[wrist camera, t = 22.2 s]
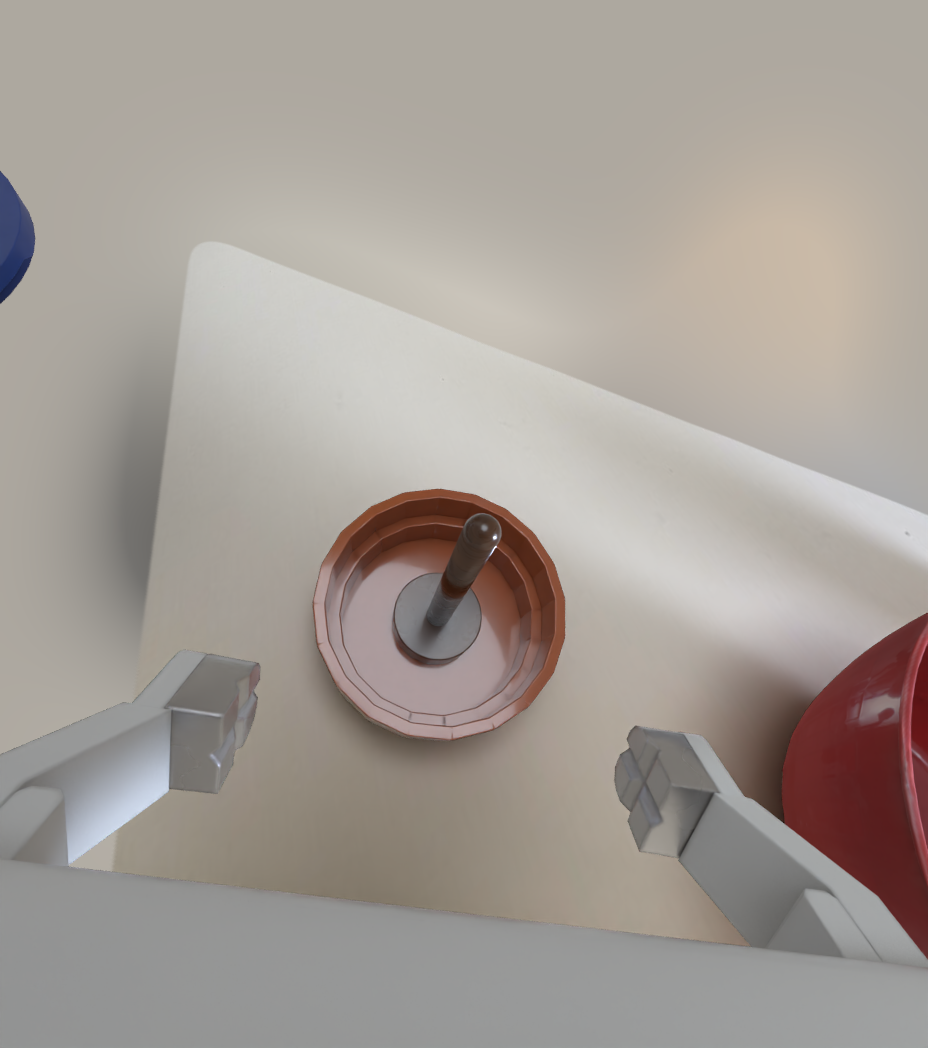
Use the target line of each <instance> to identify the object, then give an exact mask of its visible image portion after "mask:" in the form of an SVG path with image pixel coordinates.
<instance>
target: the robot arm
mask: <svg viewBox="0 0 928 1048" xmlns="http://www.w3.org/2000/svg"><path fill="white" fill-rule="evenodd" d="M259 680H260V665H259V663H256V662H251V661H245V660H240V659H235V658H229V657H224V656H219V655H214V654H207V653H201V652H195V651H190V650H182V651H180V652H178V653H177V654H176V655H175V656H174V657H173V658H172V659H171V660H170V661H169V662H168V664H167V665H166V666H165V667H164V668H163V669H162V670H161V671H160V672H159V674H158V675H157V676H156V677H155V678H154V679H153V680H152V681H151V682H150V683H149V685H148V686H147V687H146V688H145V689H144V690H143V691H142V692H141V693H140V695H139V696H138V697H137V698H136V699H135V700H134V701H133V702H132V703H121V704H118V705H116V706H114V707H112V708H109V709H106V710H104V711H102V712H99V713H97V714H95V715H92V716H90V717H87V718H85V719H83V720H80V721H78V722H76V723H73V724H71V725H69V726H66V727H64V728H62V729H59V730H57V731H54V732H52V733H50V734H47V735H45V736H43V737H40V738H38V739H36V740H33V741H31V742H29V743H26V744H24V745H21V746H19V747H17V748H14V749H12V750H10V751H7V752H5V753H2V754H0V1048H928V959H927V958H926V957H925V956H924V954H923V953H922V952H921V951H920V949H919V948H918V947H917V945H916V944H915V943H914V942H913V940H912V939H911V938H910V937H909V935H908V934H907V933H906V931H905V930H904V929H903V928H902V926H901V925H900V924H899V923H898V921H897V920H896V919H895V917H894V916H893V915H892V914H891V912H890V911H889V910H888V909H887V907H886V906H885V905H884V903H883V902H882V901H881V900H880V898H879V897H878V896H877V895H875V894H874V893H873V892H872V891H870V890H869V889H868V888H866V887H865V886H864V885H863V884H861V883H860V882H859V881H857V880H856V879H855V878H854V877H852V876H851V875H850V874H848V873H847V872H846V871H845V870H843V869H842V868H841V867H839V866H838V865H837V864H836V863H834V862H833V861H832V860H830V859H829V858H828V857H827V856H825V855H824V854H823V853H821V852H820V851H819V850H818V849H816V848H815V847H814V846H812V845H811V844H810V843H808V842H807V841H806V840H805V839H803V838H802V837H801V836H799V835H798V834H797V833H796V832H794V831H793V830H792V829H790V828H789V827H788V826H787V825H785V824H784V823H783V822H781V821H780V820H779V819H778V818H776V817H775V816H774V815H772V814H771V813H770V812H769V811H767V810H766V809H765V808H763V807H762V806H761V805H760V804H758V803H757V802H756V801H754V800H753V799H752V798H747V797H744V795H743V794H742V792H741V791H740V789H739V788H738V786H737V785H736V783H735V782H734V780H733V779H732V777H731V776H730V774H729V773H728V771H727V770H726V768H725V767H724V765H723V764H722V762H721V761H720V759H719V758H718V756H717V755H716V753H715V752H714V750H713V749H712V747H711V746H710V744H709V743H708V741H707V740H706V739H705V738H704V737H702V736H701V735H698V734H690V733H683V732H672V731H666V730H660V729H654V728H647V727H641V726H635V727H634V728H633V729H632V730H631V731H630V733H629V735H628V737H627V742H628V744H629V747H630V748H629V749H628V750H626V751H625V752H623V753H622V754H620V756H619V758H618V761H617V764H616V766H615V786H616V791H617V794H618V797H619V800H620V802H621V803H622V804H623V805H624V806H625V807H626V808H627V809H628V810H629V811H630V812H631V813H630V815H629V818H628V823H629V826H630V829H631V831H632V834H633V836H634V839H635V842H636V844H637V847H638V849H639V852H645V853H651V854H657V855H663V856H669V857H675V858H679V860H678V861H679V862H680V863H681V864H682V865H683V866H684V868H685V869H686V870H687V871H688V872H689V874H690V875H691V876H692V877H693V878H694V879H695V881H696V882H697V883H698V884H699V885H700V887H701V888H702V889H703V890H704V891H705V892H706V894H707V895H708V896H709V897H710V898H711V900H712V901H713V902H714V903H715V904H716V905H717V907H718V908H719V909H720V910H721V911H722V913H723V914H724V915H725V916H726V917H727V918H728V920H729V921H730V922H731V923H732V924H733V926H734V927H735V928H736V929H737V930H738V931H739V933H740V934H741V935H742V936H743V937H744V939H745V940H746V941H747V942H748V943H749V944H750V946H751V947H748V946H739V945H731V944H722V943H714V942H706V941H697V940H689V939H680V938H672V937H663V936H655V935H646V934H638V933H629V932H621V931H612V930H604V929H595V928H587V927H578V926H569V925H561V924H552V923H544V922H535V921H527V920H518V919H510V918H501V917H493V916H484V915H476V914H467V913H459V912H450V911H442V910H433V909H425V908H416V907H408V906H399V905H391V904H382V903H374V902H365V901H357V900H348V899H340V898H331V897H323V896H314V895H306V894H297V893H289V892H280V891H272V890H263V889H255V888H246V887H238V886H229V885H221V884H212V883H203V882H195V881H186V880H178V879H169V878H161V877H152V876H144V875H135V874H127V873H118V872H110V871H101V870H93V869H84V868H75V867H69V864H71V863H72V862H74V861H75V860H76V859H77V858H79V857H80V856H82V855H83V854H85V853H86V852H87V851H88V850H90V849H91V848H93V847H94V846H95V845H96V844H98V843H100V842H101V841H102V840H103V839H105V838H106V837H108V836H109V835H110V834H112V833H113V832H114V831H116V830H117V829H119V828H120V827H121V826H123V825H124V824H125V823H127V822H128V821H129V820H131V819H132V818H134V817H135V816H136V815H138V814H139V813H140V812H142V811H143V810H144V809H146V808H147V807H149V806H150V805H151V804H153V803H154V802H155V801H157V800H158V799H159V798H161V797H162V796H164V795H165V794H166V793H168V792H169V789H176V790H185V791H195V792H204V793H213V794H218V792H219V790H220V788H221V787H222V785H223V783H224V781H225V779H226V777H227V775H228V773H229V771H230V769H231V768H232V766H233V761H234V751H235V750H237V749H238V748H240V747H242V746H243V745H244V743H245V740H246V738H247V736H248V734H249V732H250V729H251V726H252V723H253V721H254V717H255V712H256V708H257V700H258V697H257V696H256V694H255V693H254V689H255V687H256V685H257V683H258V682H259Z"/></svg>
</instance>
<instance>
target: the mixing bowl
mask: <svg viewBox="0 0 928 1048" xmlns="http://www.w3.org/2000/svg"><path fill="white" fill-rule="evenodd" d="M782 771H783V782H782V804H783V812H784V820H785V825H787V826H788V827H789V828H790V829H792V830H793V831H794V832H796V833H797V834H798V835H799V836H801V837H802V838H803V839H805V840H806V841H807V842H808V843H810V844H811V845H812V846H814V847H815V848H816V849H818V850H819V851H820V852H821V853H823V854H824V855H825V856H827V857H828V858H829V859H830V860H832V861H833V862H834V863H836V864H837V865H838V866H839V867H841V868H842V869H843V870H845V871H846V872H847V873H848V874H850V875H851V876H852V877H854V878H855V879H856V880H857V881H859V882H860V883H861V884H863V885H864V886H865V887H866V888H868V889H869V890H870V891H872V892H873V893H874V894H875V895H877V896H878V897H879V898H880V900H881V901H882V902H883V903H884V905H885V906H886V907H887V909H888V910H889V911H890V912H891V914H892V915H893V916H894V917H895V919H896V920H897V921H898V923H899V924H900V925H901V926H902V928H903V929H904V930H905V931H906V933H907V934H908V935H909V937H910V938H911V939H912V940H913V942H914V943H915V944H916V945H917V947H918V948H919V949H920V951H921V952H922V953H923V954H924V956H925V957H926V958H927V959H928V613H926V614H924V615H922V616H920V617H919V618H917V619H915V620H913V621H911V622H910V623H908V624H906V625H905V626H903V627H901V628H900V629H898V630H896V631H895V632H893V633H891V634H890V635H888V636H887V637H885V638H884V639H882V640H881V641H880V642H878V643H877V644H875V645H874V646H872V647H871V648H870V649H868V650H867V651H866V652H864V653H863V654H862V655H860V656H859V657H858V658H857V659H855V660H854V661H853V662H852V663H851V664H850V665H849V666H848V667H846V668H845V669H844V670H843V671H842V672H841V673H840V674H839V675H838V676H837V677H835V678H834V679H833V680H832V681H831V682H830V683H829V684H828V685H827V686H826V687H825V688H824V689H823V690H822V692H821V693H820V694H819V695H818V696H817V697H816V698H815V699H814V701H813V702H812V703H811V704H810V706H809V707H808V708H807V710H806V711H805V713H804V714H803V716H802V718H801V719H800V721H799V723H798V725H797V726H796V728H795V730H794V732H793V734H792V737H791V739H790V742H789V747H788V750H787V754H786V758H785V761H784V766H783V769H782Z"/></svg>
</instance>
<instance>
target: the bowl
mask: <svg viewBox="0 0 928 1048" xmlns="http://www.w3.org/2000/svg"><path fill="white" fill-rule="evenodd" d="M479 513H484V514H489V515H491V516H493V517H494V518H495V519H496V520H497V521H498V522H499V524H500V526H501V539H500V541H499V543H498V545H497V546H496V548H495V549H494V551H493V553H492V554H491V556H490V557H489V559H488V560H487V562H486V563H485V565H484V567H483V568H482V570H481V571H480V573H479V574H478V576H477V577H476V579H475V581H474V582H473V584H472V585H471V587H470V588H471V589H472V590H473V592H474V593H475V595H476V597H477V599H478V601H479V604H480V607H481V613H482V621H481V628H480V631H479V634H478V636H477V638H476V640H475V641H474V643H473V644H472V645H471V646H470V647H469V648H468V649H467V650H466V651H465V652H464V653H463V654H462V655H461V656H460V657H458V658H457V659H455V660H453V661H451V662H448V663H444V664H437V665H435V664H426V663H422V662H419V661H417V660H415V659H413V658H412V657H410V656H409V655H408V654H407V653H405V651H404V650H403V649H402V648H401V647H400V645H399V644H398V642H397V640H396V638H395V635H394V631H393V624H392V620H393V612H394V607H395V603H396V600H397V598H398V596H399V594H400V592H401V591H402V589H403V588H404V587H405V586H406V585H407V584H408V583H409V582H410V581H412V580H413V579H415V578H417V577H419V576H421V575H424V574H428V573H444V571H445V569H446V566H447V564H448V562H449V559H450V557H451V555H452V552H453V550H454V548H455V545H456V543H457V541H458V538H459V536H460V534H461V531H462V529H463V527H464V525H465V523H466V521H467V520H468V519H469V518H470V517H471V516H473V515H475V514H479ZM313 614H314V624H315V633H316V643H317V647H318V649H319V651H320V653H321V655H322V657H323V660H324V662H325V664H326V666H327V668H328V670H329V672H330V674H331V676H332V679H333V681H334V683H335V685H336V686H337V688H338V690H339V691H340V693H341V694H342V695H343V697H344V698H345V699H346V700H347V701H348V702H349V703H350V704H351V705H352V706H353V707H354V708H355V709H356V710H357V711H358V712H359V713H360V714H361V715H362V716H363V717H364V718H365V719H366V720H368V721H369V722H371V723H373V724H375V725H378V726H380V727H382V728H384V729H386V730H388V731H390V732H392V733H394V734H396V735H398V736H400V737H405V738H415V739H425V740H435V741H451V740H457V739H461V738H465V737H468V736H472V735H476V734H480V733H484V732H488V731H492V730H494V729H497V728H498V727H500V726H501V725H502V724H504V723H505V722H507V721H508V720H510V719H511V718H513V717H514V716H516V715H517V714H519V713H520V712H522V711H523V710H525V709H526V708H528V707H529V706H530V705H531V703H532V702H533V701H534V699H535V698H536V697H537V695H538V694H539V693H540V691H541V690H542V689H543V687H544V686H545V684H546V683H547V682H548V680H549V679H550V678H551V676H552V675H553V673H554V670H555V667H556V664H557V661H558V658H559V655H560V652H561V649H562V646H563V642H564V639H565V597H564V594H563V590H562V587H561V584H560V581H559V577H558V574H557V571H556V568H555V565H554V564H553V561H552V559H551V558H550V556H549V555H548V553H547V552H546V550H545V549H544V547H543V546H542V544H541V543H540V541H539V540H538V538H537V537H536V535H535V534H533V532H532V531H531V530H530V529H529V528H528V527H526V526H525V525H524V524H523V523H522V522H521V521H519V520H518V519H517V518H516V517H515V516H514V515H512V514H511V513H510V512H509V511H508V510H507V509H505V508H503V507H501V506H498V505H496V504H494V503H492V502H490V501H488V500H486V499H483V498H481V497H479V496H477V495H474V494H469V493H463V492H457V491H451V490H444V489H431V490H423V491H414V492H405V493H402V494H399V495H397V496H395V497H392V498H390V499H388V500H385V501H383V502H381V503H378V504H376V505H374V506H371V508H369V509H368V510H366V511H365V512H364V513H363V514H362V515H360V516H359V517H358V518H357V519H356V520H355V521H353V522H352V523H351V524H350V525H349V526H348V527H346V528H345V529H344V530H343V531H342V532H341V533H340V535H339V536H338V538H337V540H336V541H335V543H334V545H333V546H332V548H331V549H330V551H329V553H328V554H327V556H326V558H325V559H324V561H323V562H322V565H321V568H320V572H319V577H318V581H317V585H316V590H315V594H314V598H313Z"/></svg>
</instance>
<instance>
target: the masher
mask: <svg viewBox="0 0 928 1048" xmlns="http://www.w3.org/2000/svg"><path fill="white" fill-rule="evenodd" d="M500 539H501V526H500V524H499V522H498V521H497V520H496V519H495V518H494V517H493V516H491V515H489V514H484V513H479V514H475V515H473V516H471V517H470V518H469V519H468V520H467V521H466V523H465V525H464V527H463V529H462V531H461V534H460V536H459V538H458V541H457V543H456V545H455V548H454V550H453V552H452V555H451V557H450V559H449V562H448V564H447V566H446V569H445V571H444V573H428V574H424V575H421V576H419V577H417V578H415V579H413V580H412V581H410V582H409V583H408V584H407V585H406V586H405V587H404V588H403V589H402V591H401V592H400V594H399V596H398V598H397V600H396V603H395V607H394V612H393V620H392V624H393V631H394V635H395V638H396V640H397V642H398V644H399V645H400V647H401V648H402V649H403V650H404V651H405V653H407V654H408V655H409V656H410V657H412V658H413V659H415V660H417V661H419V662H422V663H426V664H435V665H437V664H444V663H448V662H451V661H453V660H455V659H457V658H458V657H460V656H461V655H462V654H463V653H464V652H465V651H466V650H467V649H468V648H469V647H470V646H471V645H472V644H473V643H474V641H475V640H476V638H477V636H478V634H479V631H480V628H481V621H482V613H481V607H480V604H479V601H478V599H477V597H476V595H475V593H474V592H473V590H472V589H471V588H470V587H471V585H472V584H473V582H474V581H475V579H476V577H477V576H478V574H479V573H480V571H481V570H482V568H483V567H484V565H485V563H486V562H487V560H488V559H489V557H490V556H491V554H492V553H493V551H494V549H495V548H496V546H497V545H498V543H499V541H500Z"/></svg>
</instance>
